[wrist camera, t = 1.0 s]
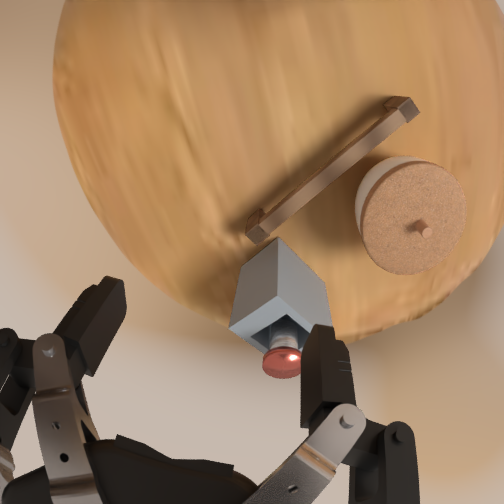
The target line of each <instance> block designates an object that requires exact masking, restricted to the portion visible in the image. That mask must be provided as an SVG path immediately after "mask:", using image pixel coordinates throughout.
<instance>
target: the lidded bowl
mask: <svg viewBox="0 0 504 504" xmlns="http://www.w3.org/2000/svg"><path fill="white" fill-rule="evenodd" d="M466 211H467V210H466V200H465V196H464V193H463V190H462V188H461V186H460V184H459V182H458V181H457V179H456V178H455V177H454V176H453V175H452V174H451V173H450V172H448V171H447V170H446V169H444V168H443V167H441V166H439V165H436V164H434V163H431V162H429V161H427V160H424V159H422V158H418V157H413V156H394V157H390V158H387V159H385V160H383V161H381V162H379V163H378V164H376V165H375V166H373V167H372V168H371V169H370V170H369V171H368V172H367V174H366V175H365V176H364V178H363V179H362V181H361V183H360V185H359V188H358V191H357V194H356V199H355V215H356V222H357V226H358V229H359V232H360V235H361V237H362V241H363V244H364V246H365V248H366V251H367V253H368V254H369V256H370V257H371V259H372V260H373V261H374V262H375V263H376V264H377V265H378V266H379V267H381V268H382V269H384V270H386V271H388V272H391V273H395V274H400V275H411V274H417V273H422V272H424V271H427V270H429V269H431V268H433V267H435V266H436V265H438V264H439V263H440V262H442V261H443V260H444V259H445V258H446V257H447V256H448V255H449V254H450V253H451V252H452V250H453V249H454V248H455V246H456V245H457V243H458V241H459V239H460V237H461V235H462V232H463V230H464V227H465V221H466Z"/></svg>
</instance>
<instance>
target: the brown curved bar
mask: <svg viewBox="0 0 504 504" xmlns="http://www.w3.org/2000/svg"><path fill="white" fill-rule="evenodd" d="M383 106H384V107H385V108H386V110H387V111H388V113H386V114H385V115H384V116H383V117H381V118H380V119H379V120H378V121H377V122H375V123H374V124H373V125H372V126H370V127H369V128H368V129H367V130H365V131H364V132H363V133H362V134H361V135H359V136H358V137H357V138H356V139H354V140H353V141H352V142H351V143H350V144H348V145H347V146H346V147H345V148H344V149H342V150H341V151H340V152H339V153H337V154H336V155H335V156H334V157H333V158H331V159H330V160H329V161H328V162H327V163H325V164H324V165H323V166H322V167H321V168H319V169H318V170H317V171H316V172H315V173H313V174H312V175H311V176H310V177H309V178H308V179H306V180H305V181H304V182H303V183H302V184H300V185H299V186H298V187H297V188H296V189H294V190H293V191H292V192H291V193H290V194H289V195H287V196H286V197H285V198H284V199H283V200H281V201H280V202H279V203H278V204H277V205H276V206H274V207H273V208H272V209H271V210H270V211H269V212H267V213H266V214H265V213H264V212H263V211H262V210H261V209H258V210H257V211H256V212H255V213H254V214H253V215H252V216H250V217H249V218H248V223H247V227H246V231H245V235H246V236H247V237H248V238H249V239H250V240H251V241H252V242H253V243H254V244H255V245H257V246H258V245H259V244H260V243H261V242H263V241H264V240H265V239H266V238H267V237H269V236H270V233H271V232H272V231H273V230H275V229H276V228H277V227H278V226H279V225H281V224H282V223H283V222H284V221H285V220H287V219H288V218H289V217H290V216H292V215H293V214H294V213H295V212H296V211H298V210H299V209H300V208H301V207H303V206H304V205H305V204H306V203H307V202H309V201H310V200H311V199H312V198H314V197H315V196H316V195H317V194H318V193H320V192H321V191H322V190H323V189H325V188H326V187H327V186H328V185H329V184H331V183H332V182H333V181H334V180H336V179H337V178H338V177H339V176H340V175H342V174H343V173H344V172H345V171H347V170H348V169H349V168H350V167H351V166H353V165H354V164H355V163H356V162H358V161H359V160H360V159H361V158H362V157H364V156H365V155H366V154H367V153H369V152H370V151H371V150H372V149H373V148H375V147H376V146H377V145H378V144H380V143H381V142H382V141H383V140H385V139H386V138H387V137H388V136H389V135H391V134H392V133H393V132H394V131H396V130H397V129H398V128H399V127H400V126H402V125H403V124H404V123H405V122H407V123H408V122H410V121H411V120H412V119H413V118H414V117H416V116H417V115H418V114H419V113H420V111H419V110H418V108H417V107H416V105H415V104H414V102H413V101H412V100H411V98H410V97H401V96H394V97H392V98H391V99H390V100H389V101H387V102H386V103H385V104H384V105H383Z"/></svg>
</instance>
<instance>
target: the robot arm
mask: <svg viewBox="0 0 504 504" xmlns="http://www.w3.org/2000/svg"><path fill="white" fill-rule="evenodd" d="M126 309H127V305H126V297H125V289H124V282H123V280H120V279H117V278H113V277H110V276H105V277H104V278H103V279H102V281H101V282H100V283H99V284H98V286H97V285H94V284H93V285H92V286H90V287H89V288H87V289H85V290H84V291H83V292H82V294H81V295H80V296H79V297H78V299H77V301H75V303H74V304H73V306H72V308H70V309H69V311H68V312H67V314H66V315H65V316H64V318H63V319H62V321H61V322H60V323H59V325H58V326H57V328H56V329H55V331H54V332H53V333H47V334H44V335H41V336H40V337H39V338H37V340H28V339H20V338H18V336H17V334H16V332H15V331H14V330H13V329H10V328H3V329H0V390H1V388H2V386H3V384H4V383H5V384H4V386H3V388H2V390H1V392H0V504H311V503H312V502H313V501H314V500H315V499H316V498H317V496H318V495H319V494H320V493H321V492H322V491H323V489H324V488H325V487H326V486H327V485H328V483H329V482H330V481H331V480H332V478H333V477H334V475H335V473H336V471H335V470H336V468H337V467H338V465H339V464H340V463H343V464H346V465H349V466H350V477H349V501H348V504H420V495H419V478H418V465H417V455H416V446H415V438H414V433H413V431H412V429H411V428H410V427H409V426H408V425H407V424H406V423H404V422H400V421H396V422H393V423H390V424H389V425H388V426H385V425H382V424H379V423H376V422H373V421H370V420H368V419H366V418H365V415H364V414H363V412H362V411H361V410H360V409H359V408H358V407H357V406H356V400H355V392H354V384H353V377H352V373H351V364H350V357H349V351H348V349H347V347H346V346H345V344H344V342H343V341H341V340H336V339H335V331H334V328H333V326H327V325H321V324H315V325H314V326H313V328H312V330H311V332H310V334H309V336H308V338H307V340H306V342H305V344H304V346H303V349H302V353H301V360H300V364H301V417H300V418H301V419H300V421H301V422H300V423H301V424H300V427H301V428H309V436H308V437H307V438H306V439H305V440H304V441H303V443H301V444H300V446H299V447H298V448H297V449H296V450H295V451H294V452H293V453H292V454H291V455H290V456H289V457H288V458H287V459H286V460H285V461H284V462H283V463H282V464H281V465H280V466H279V467H278V468H277V469H276V470H275V471H274V472H272V474H270V475H269V476H268V477H267V478H266V479H265V480H264V481H263V482H262V483H260V484H259V485H258V486H257V485H256V484H255V483H254V482H253V481H251V480H250V479H249V478H247V477H246V476H244V475H242V474H240V473H238V472H236V471H234V470H233V468H234V465H231V464H225V463H220V462H214V461H209V460H204V459H203V460H187V459H171V458H169V457H167V456H165V455H163V454H162V453H160V452H158V451H156V450H154V449H153V448H151V447H149V446H147V445H146V444H144V443H141V442H138V441H135V440H132V439H129V438H126V437H124V436H121V435H118V434H117V436H116V439H115V440H114V439H105V440H100V438H99V436H98V433H97V430H96V428H95V426H94V424H93V422H92V418H91V415H90V412H89V408H88V405H87V401H86V397H85V393H84V389H83V385H82V381H81V380H82V377H83V376H84V374H86V375H89V376H91V377H93V376H94V374H95V372H96V370H97V368H98V366H99V364H100V362H101V360H102V359H103V357H104V355H105V353H106V351H107V349H108V347H109V346H110V343H111V342H112V340H113V338H114V336H115V334H116V333H117V331H118V329H119V327H120V325H121V323H122V322H123V320H124V318H125V315H126ZM8 375H9V377H8ZM7 377H8V378H7ZM6 379H7V380H6ZM5 381H6V382H5ZM35 392H36V394H35ZM31 400H32V405H33V411H34V418H35V423H36V429H37V434H38V439H39V444H40V448H41V452H42V456H43V460H44V464H45V465H44V466H42V467H40V468H38V469H35V470H33V471H31V472H29V473H27V474H24V475H22V476H20V477H18V478H15V479H14V477H13V471H14V470H15V465H14V462H13V457H12V454H11V452H10V451H11V448H12V446H13V443H14V440H15V438H16V435H17V433H18V430H19V428H20V425H21V423H22V420H23V418H24V416H25V414H26V411H27V409H28V407H29V405H30V403H31Z"/></svg>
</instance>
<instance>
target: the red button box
mask: <svg viewBox="0 0 504 504" xmlns="http://www.w3.org/2000/svg"><path fill="white" fill-rule="evenodd" d="M280 319H288V320H291V321H293V322H294V323H295V324H296V325H297V333H298V350H300V351H301V352H302V349H303V346H304V344H305V342H306V340H307V338H308V336H309V334H310V332H311V330H312V328H313V326H314V325H315V324H321V325H327V326H333V325H332V319H331V313H330V308H329V302H328V297H327V292H326V286H325V283H324V282H323V281H322V280H321V279H320V278H319V277H318V276H317V275H316V274H315V273H314V272H313V271H312V270H311V269H310V268H309V267H308V266H307V265H306V264H305V263H304V262H303V261H302V260H301V259H300V258H299V257H298V256H297V255H296V254H295V253H294V252H293V251H292V250H291V249H290V248H289V247H288V246H287V245H286V244H285V243H284V242H283V241H282V240H281V239H280V238H279V237H278V238H276V239H275V240H274V241H273V242H271V243H270V244H269V245H268V246H266V247H265V248H264V249H263V250H261V251H260V252H259V253H258V254H256V255H255V256H254V257H253V258H252V259H250V260H249V261H248V262H247V263H245V264H244V265H243V266H242V267H241V270H240V274H239V279H238V284H237V289H236V294H235V299H234V304H233V308H232V313H231V318H230V323H229V329H230V330H231V331H233V332H234V333H235V334H237V335H238V336H240V337H241V338H242V339H244V340H245V341H246V342H248V343H249V344H251V345H252V346H254V347H255V348H256V349H258V350H259V351H261V352H262V353H263V354H265V353H266V352H267V351H268V350H269V349H270V331H271V325H272V324H273V323H274V322H275V321H277V320H280Z"/></svg>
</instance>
